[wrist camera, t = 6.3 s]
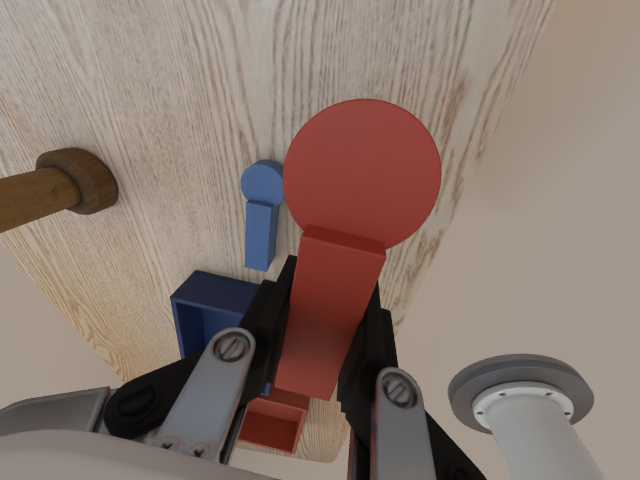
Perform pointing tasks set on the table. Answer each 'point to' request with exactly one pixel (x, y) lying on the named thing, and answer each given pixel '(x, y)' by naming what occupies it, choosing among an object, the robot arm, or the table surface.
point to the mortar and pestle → (56, 188)
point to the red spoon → (348, 226)
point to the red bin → (275, 420)
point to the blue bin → (209, 310)
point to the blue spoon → (262, 211)
